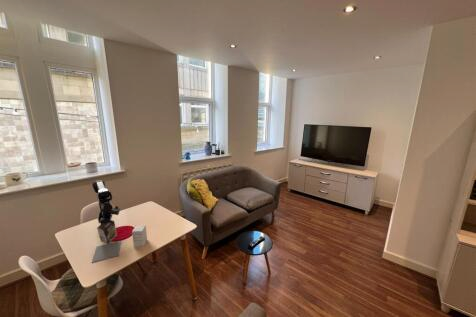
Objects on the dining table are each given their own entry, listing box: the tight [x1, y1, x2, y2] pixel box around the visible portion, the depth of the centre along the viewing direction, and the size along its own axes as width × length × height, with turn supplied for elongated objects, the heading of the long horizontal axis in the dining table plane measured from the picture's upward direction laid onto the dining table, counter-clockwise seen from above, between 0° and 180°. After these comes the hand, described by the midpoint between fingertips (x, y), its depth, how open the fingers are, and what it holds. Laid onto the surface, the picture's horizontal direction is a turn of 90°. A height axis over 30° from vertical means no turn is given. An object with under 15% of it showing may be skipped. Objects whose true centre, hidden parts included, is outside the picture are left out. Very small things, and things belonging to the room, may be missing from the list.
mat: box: [91, 240, 122, 264], centre depth 136 cm, size 17×15×1 cm
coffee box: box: [96, 219, 118, 245], centre depth 142 cm, size 9×6×16 cm
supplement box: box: [131, 225, 148, 247], centre depth 144 cm, size 7×7×13 cm
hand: (108, 225), depth 147 cm, fingers closed
